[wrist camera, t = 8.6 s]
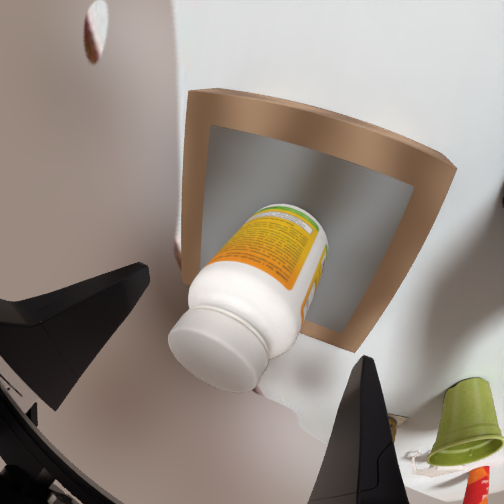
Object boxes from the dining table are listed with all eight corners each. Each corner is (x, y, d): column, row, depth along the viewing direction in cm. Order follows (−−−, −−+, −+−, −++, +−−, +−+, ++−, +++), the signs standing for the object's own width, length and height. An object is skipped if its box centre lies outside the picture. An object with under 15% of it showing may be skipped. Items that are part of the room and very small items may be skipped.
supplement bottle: (233, 217, 18) (131, 317, 11) (307, 188, 15) (223, 305, 8) (271, 283, 20) (201, 396, 13) (342, 267, 17) (297, 407, 10)
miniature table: (416, 459, 36) (412, 481, 32) (413, 447, 33) (408, 471, 29) (472, 450, 29) (470, 472, 25) (476, 436, 26) (475, 461, 22)
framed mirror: (442, 153, 14) (458, 169, 11) (360, 321, 24) (354, 355, 21) (217, 88, 18) (185, 90, 15) (203, 259, 27) (180, 284, 24)
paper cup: (490, 469, 31) (484, 516, 20) (464, 475, 35) (455, 522, 24) (495, 462, 28) (489, 513, 18) (467, 469, 33) (458, 520, 22)
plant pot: (492, 401, 22) (493, 458, 15) (430, 412, 27) (423, 470, 20) (507, 360, 18) (516, 429, 12) (433, 376, 24) (429, 447, 17)
